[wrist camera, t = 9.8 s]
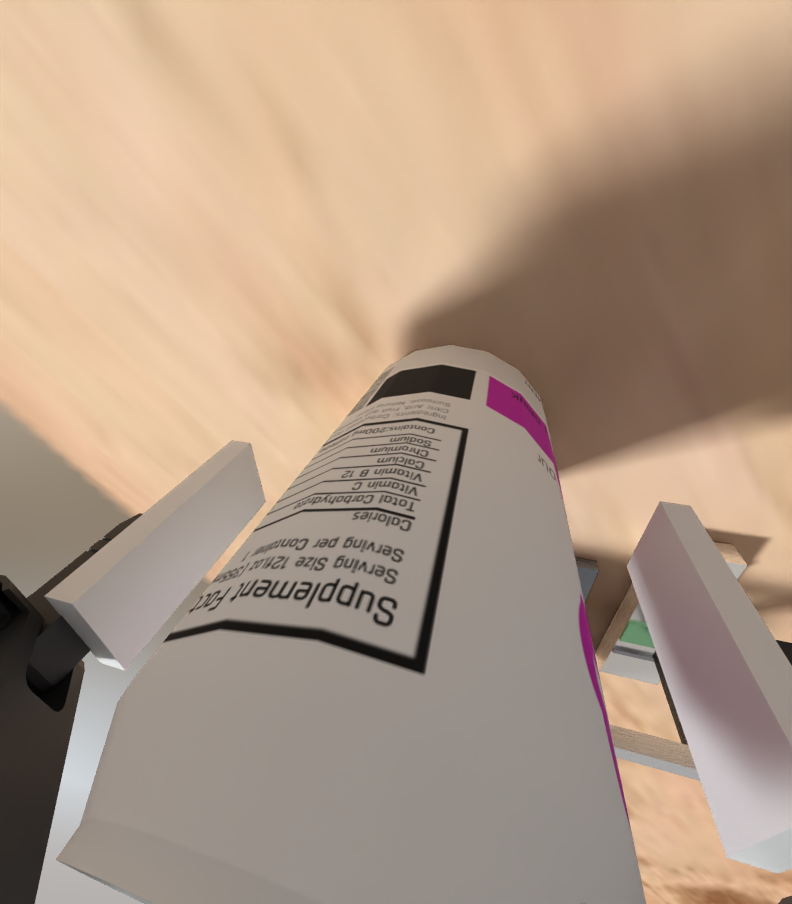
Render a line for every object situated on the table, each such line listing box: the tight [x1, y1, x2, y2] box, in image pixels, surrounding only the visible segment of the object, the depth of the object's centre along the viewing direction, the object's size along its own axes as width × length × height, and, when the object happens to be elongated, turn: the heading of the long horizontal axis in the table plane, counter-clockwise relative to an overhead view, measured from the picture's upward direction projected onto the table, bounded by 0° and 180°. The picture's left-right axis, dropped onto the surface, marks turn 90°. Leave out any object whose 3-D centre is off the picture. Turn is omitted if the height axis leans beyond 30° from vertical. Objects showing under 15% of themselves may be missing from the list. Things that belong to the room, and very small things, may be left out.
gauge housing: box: [575, 542, 748, 685], centre depth 18 cm, size 12×21×9 cm, turn 89°
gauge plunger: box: [609, 651, 700, 781], centre depth 18 cm, size 1×19×6 cm, turn 89°
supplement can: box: [56, 345, 646, 904], centre depth 11 cm, size 8×8×15 cm
